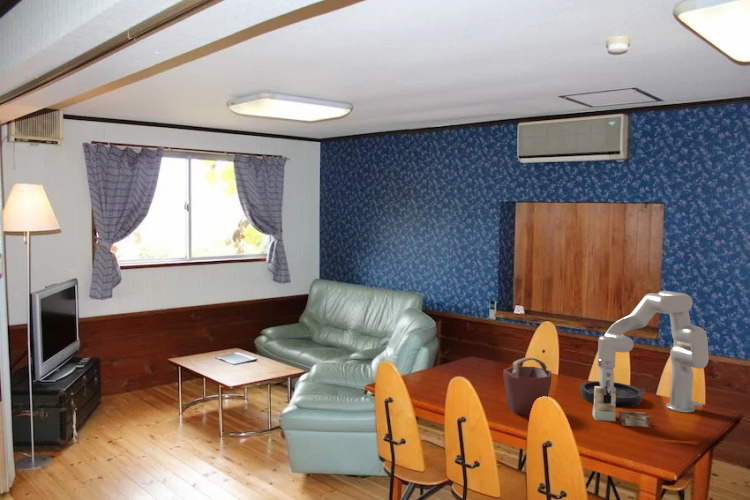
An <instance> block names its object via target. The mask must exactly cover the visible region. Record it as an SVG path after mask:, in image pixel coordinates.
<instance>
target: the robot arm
mask: <svg viewBox="0 0 750 500" xmlns="http://www.w3.org/2000/svg"><path fill="white" fill-rule="evenodd" d="M692 306H693V299H692V297H691V296H690V295H688V294H686V293H682V292H681V293H680V292H676V291H669V290H660V291H659V292H657V293H656V292H655V293H652V292H651V293H646V294H645V295H644V296H643V297H642V298H641V300H640V301H639V303H637V305H636V306H635V308H634V309H633V310H632V312H631V313H630V314H629V315H626V316H624V317H622V318H621V319H618V320H617V321H615V322H614V323H613V324H611V325H610V327H609V328H608V329H607V331H605V333H604V335H602V336H599V337H598V341H597V343H598V346H597V367H599V373H598V375H599V378H598V381H599V383H600V386H601V387H602V389H604V399H603V403H606V404H611V389H612V390H613V389H614V381H615V378H614V377H615V375H614V369H615V368H616V353H629V352H631V351H632V350H633V348H634V345H635V344H634V341H633V339H632V338H631V337H629V336H626V335H623V334H625V333H627V332H628V331H633V330H637V329H642V328H644V327H646V326H647V325H648V324H649V322H650V321H651V320H652V319H653V317H654V316H655V315H656V313H660V314H665V315H669V318H670V329H671V336H672V339H673V340H674V341H675V342H676V343H677V342H678V344H675V345H673V346H672V347H671V349H670V352H669V356H670V362H671V363H670V364H671V379H670V394H669V395H670V396H669V397H670V398H669V402H668V403H666V405H665V406H666V408H667V409H669V410H672V411H674V412H678V413H694V412H695V411H696V407H699V408H703V407H704V406H703V403H702V402H698V401H693V386H694V385H693V384H694V371H693V369H700V370H701V369H704V368H705V367H707V365H708V363H709V359H710V358H709V357H710V355H709V344H708V343H709V341H708V336H707V332H706V331H705V329H703V328H702V327H700V326H696V325H693V324H692V323H691V319H690V313H689V311H690V310H691V309H692V308H693V307H692Z"/></svg>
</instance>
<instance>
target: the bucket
mask: <svg viewBox="0 0 750 500" xmlns="http://www.w3.org/2000/svg"><path fill="white" fill-rule="evenodd" d="M528 361H535V362H536V363H538V364H539V366H540V367H541V368H539V367H536V366H521V365H520V364H523V363H524V362H525V363H526V362H528ZM502 373H503V374H502V376H503V382H504V389H505V394H506V400H507V401H506V402H507V406H508V407H507V408H508V409H509V410H510V411H512V413H513V414H516V415H521V416H527V417H530V416H529V414H530V411H531V408H532V405H533V403H534V401H535V400H536V399H537V398H539V397H542V396H547V397H549V394H550V389H551V387H552V386H551V385H552V370H548V367H547V365H546V363H545V362H544V361H541V360H540V359H537V358H534V357H523V358H520V359H517V360H514V361H513V362H512V366H510V367H508V368H505V369H503V372H502Z"/></svg>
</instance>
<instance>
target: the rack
mask: <svg viewBox="0 0 750 500" xmlns="http://www.w3.org/2000/svg"><path fill="white" fill-rule="evenodd" d="M629 416H638V417H646V419H647V421H646V422H647V424H648V427H647V428H652V425H650V417H651V416H649V415H648V413H647V412H640V411H625V410H619V411H618V418H617V419H618V420H619V422H620V423H621V425H622V426H627V427H628V426H629V427H632V426H631V425H626V424H625V418H629ZM637 427H640V428H641V427H642V428H646V427H645V426H637Z"/></svg>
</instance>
